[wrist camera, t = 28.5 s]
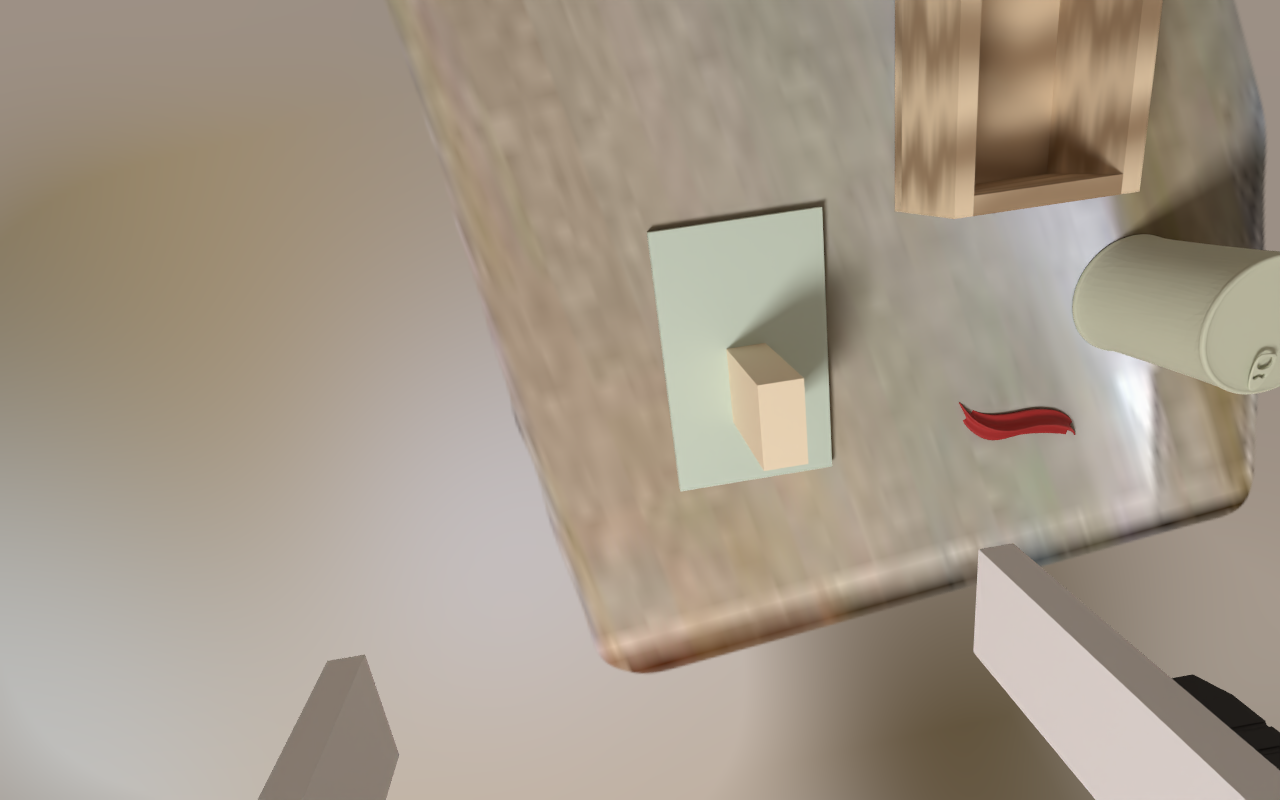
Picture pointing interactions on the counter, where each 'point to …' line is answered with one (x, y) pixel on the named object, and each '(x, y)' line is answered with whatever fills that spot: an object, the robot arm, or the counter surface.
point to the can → (1186, 309)
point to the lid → (744, 345)
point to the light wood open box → (1020, 102)
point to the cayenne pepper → (1017, 423)
